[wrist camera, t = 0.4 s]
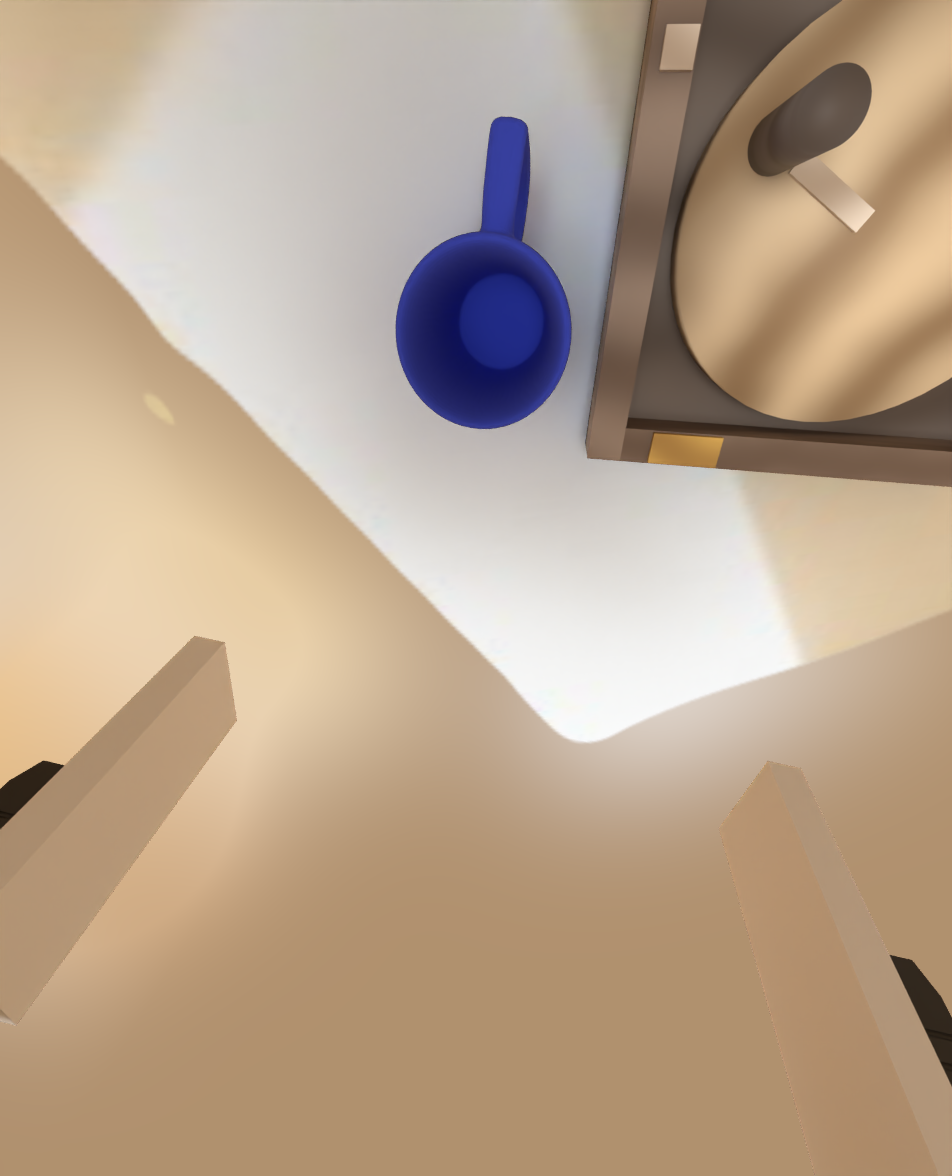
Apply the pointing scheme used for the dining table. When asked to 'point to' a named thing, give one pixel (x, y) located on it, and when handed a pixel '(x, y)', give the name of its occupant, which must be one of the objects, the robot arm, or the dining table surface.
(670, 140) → the brown wooden tray
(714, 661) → the dining table surface
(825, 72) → the dial
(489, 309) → the mug
